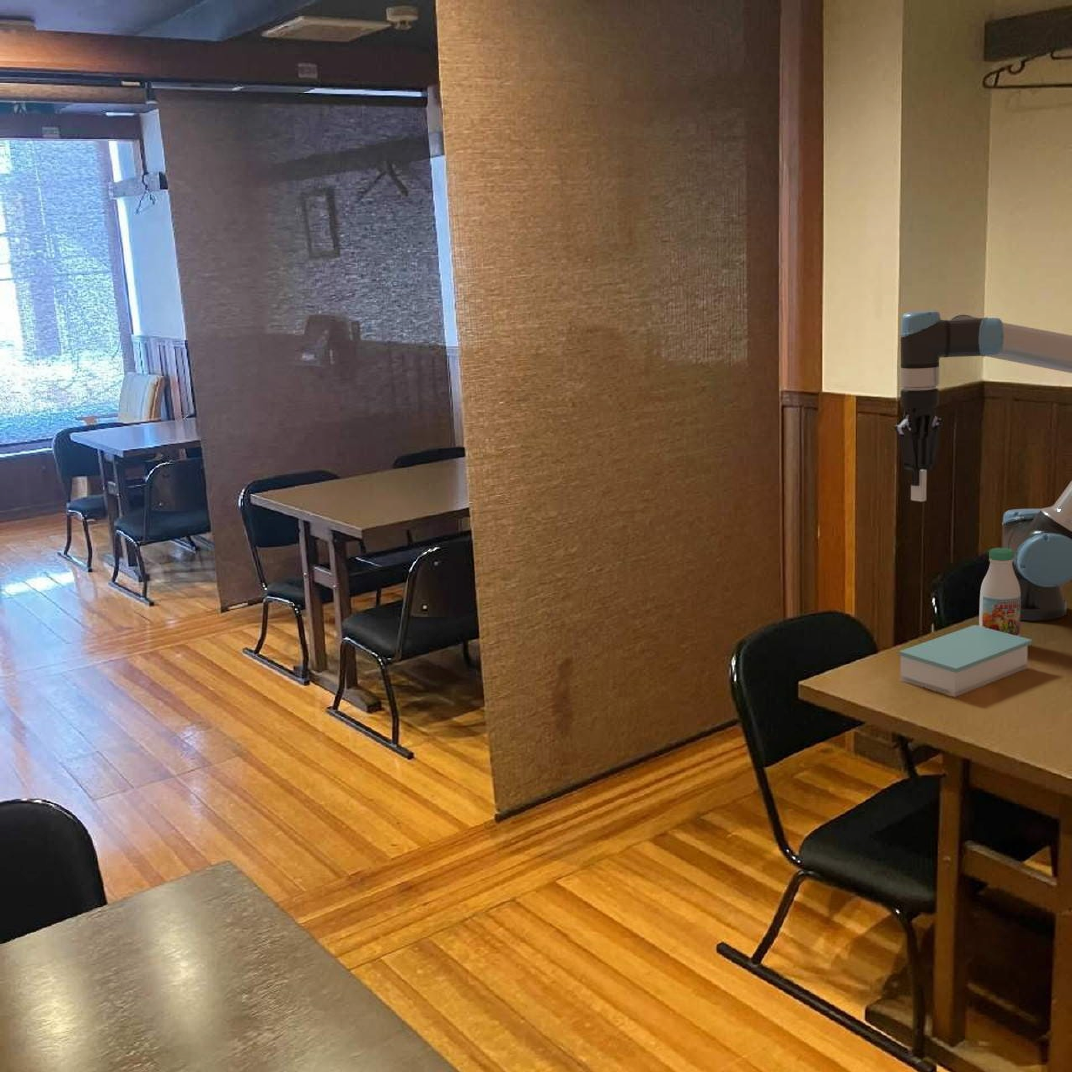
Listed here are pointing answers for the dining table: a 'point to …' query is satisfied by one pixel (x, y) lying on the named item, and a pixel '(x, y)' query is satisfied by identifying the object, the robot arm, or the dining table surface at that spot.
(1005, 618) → the milk bottle
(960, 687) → the white shallow box
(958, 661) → the cover
